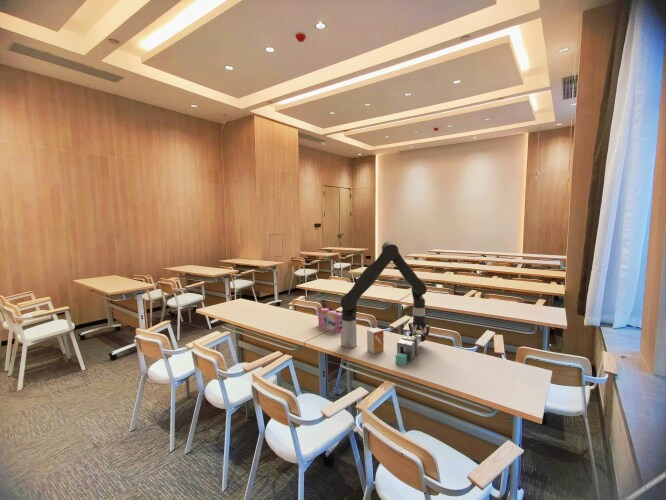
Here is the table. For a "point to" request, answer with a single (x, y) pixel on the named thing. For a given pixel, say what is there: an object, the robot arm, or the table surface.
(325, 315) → the gum box
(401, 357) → the block
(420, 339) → the shaft
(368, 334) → the small box
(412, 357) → the bearing blocks
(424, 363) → the table surface
